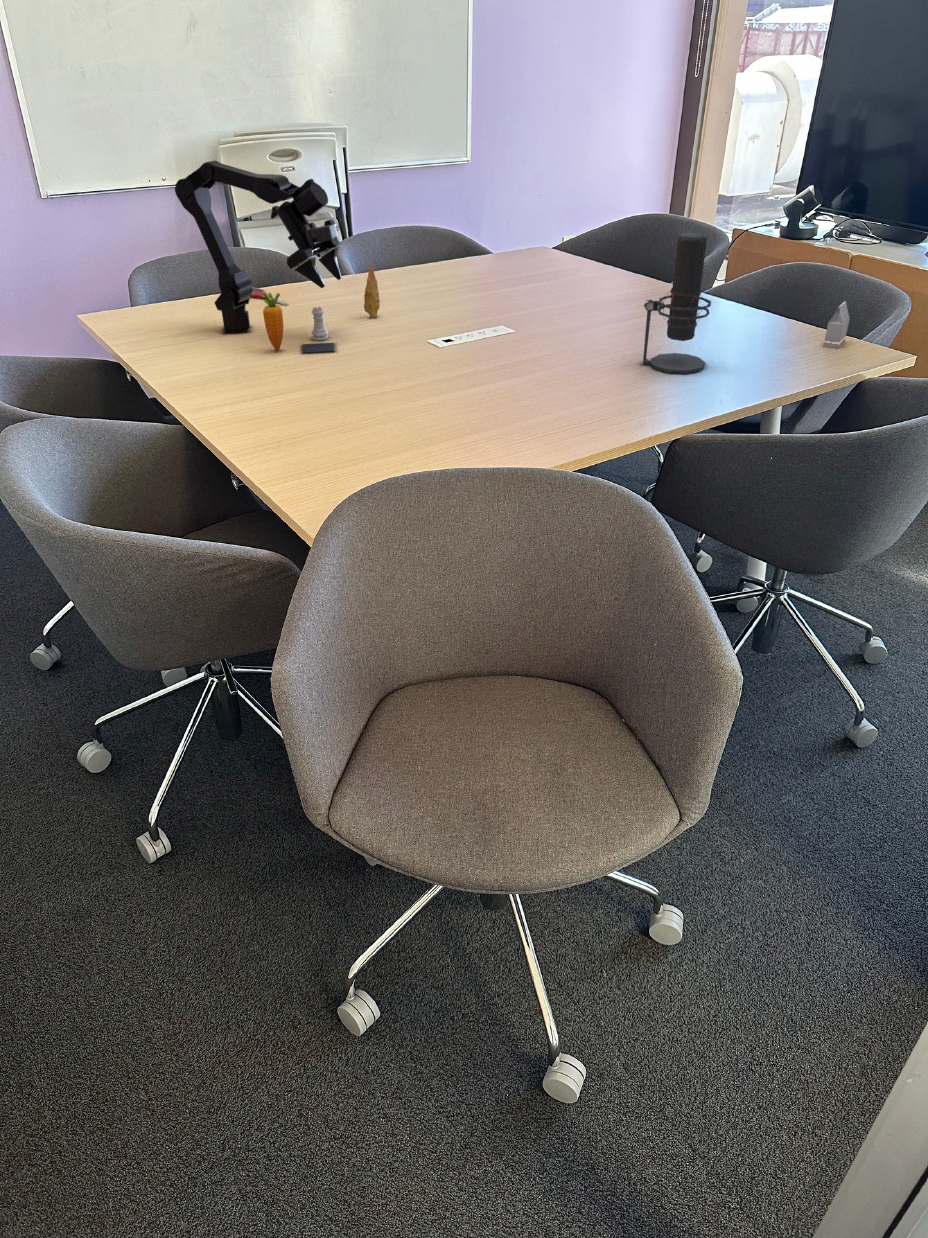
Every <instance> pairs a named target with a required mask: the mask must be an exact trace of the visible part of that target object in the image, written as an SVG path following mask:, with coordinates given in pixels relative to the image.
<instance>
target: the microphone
mask: <svg viewBox="0 0 928 1238" xmlns="http://www.w3.org/2000/svg"><path fill="white" fill-rule="evenodd" d="M676 242H677V243H676V250H675V251H676V254H675V263H674V269H673V270H674V271H673V279H672V286H671V289H670V291H668V294H667V295H664V296H662V297H660V298H659V297H658V300H652V299H646V301H645V302H644V304H643V307H644V309H645V311H646V320H645V321H646V322H645V323H646V324H645V334H644V335H645V336H644V346H643V358H642V359H643V360H642V364H644V365H650V366H651V367H652V368H653V369H654V370H656V371H661V372H664V373H669V374H677V375H678V374H679V375H687V374H693V373H698V372H700V371H702V370H704V368H705V365H706V363H707V362H706V361H704V360H703V359H702V358H701V357H700V356H697V355H692V354H688V353H680V352H679V353H677V352H671V353H669V352H668V353H659V354H657V355H654V356H653V357H651V358H649V359H648V358H647V354H648V345H649V333H650V328H651V327H650V325H651V317H652V312H658V315H659V316H662V317H664V320H665V322H666V325H667V329H666V330H667V331H666V336H667V338H668V339H670V340H672V341H679V342H685V341H691V340H692V339H694V337H695V335H696V333H695V332H696V328H697V326H698V322H699V321H700V320H701V319H704V318H707V317H708V316H709V315H710V309H709V308H711V307H712V300H710V299H708V298H705V297H703V296H702V295H701V294H702V293H703V292H702V289H701V288H702V281H703V273H704V266H705V260H706V251H707V245H708V244H707V242H708V237H707V235H706V234H704V233H701V232H700V233H699V232H681V233H680V234H678V237H677V241H676ZM667 299H670V303H667V304H665V300H667ZM701 300H702V301H703V302H705V303H707V304H706V305H702V306H700V305H699V303H700V302H701ZM664 309H669V314H668V313H664V311H665V310H664ZM699 311H700V312H699ZM703 311H706V313H705V314H702V315H700V313H701V312H703ZM665 317H666V318H667V319H666V318H665Z"/></svg>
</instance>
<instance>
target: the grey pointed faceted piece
mask: <svg viewBox="0 0 928 1238" xmlns="http://www.w3.org/2000/svg"><path fill="white" fill-rule="evenodd" d="M850 319H851V318H850V314H849V311H848V305H847V301H843V302H842V303H841V304H840V305H839V306H838V307H837V309H836V311H835V312H834V314H833V316H832V317H831V318H830V320H829V321H828V323H827V326H826V331H825V332H826V333H825V335H824V340H825V341H830V342H840V341H841V340H842V339H843V338H844V337H847V332H848V329H849V324H850ZM845 342H846V338H845V339H844V340H843V341H842V342H841V343H840V344H839V345H838V344H832V343H825V342H824V341H823V347H826V348H832V349H839V348H840V347H841V346H843V344H844V343H845Z"/></svg>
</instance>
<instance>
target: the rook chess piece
mask: <svg viewBox="0 0 928 1238" xmlns="http://www.w3.org/2000/svg"><path fill="white" fill-rule="evenodd" d="M324 313H325V311H324V309H323V307H321V306H318V307H317V306H315V307H312V311H311V314H312V315H313V317H312V319H313V329H312V332H311V335H312V336H311V338H312V340H314V341H316V342H323V341H326V340H328V338H329V335H328V334H329V331H328V330H327V328H326V327H325V323H324V318H325V317H324V316H323V314H324Z"/></svg>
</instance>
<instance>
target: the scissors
mask: <svg viewBox="0 0 928 1238" xmlns="http://www.w3.org/2000/svg"><path fill="white" fill-rule="evenodd" d="M252 288H253V292H252V295H251V297H250V298H257V299H261V300H267V299H266V298H265V296H264V295H263V292H265V291H266V290H265V289H263V288H259V287H253V286H252ZM269 297H270V296H269ZM273 298H274V299H275V297H273ZM270 299H271V298H270ZM276 304H280V305H281V306H282V305H283V306H287V303H285V302H284V301H282V300H280V299H278V300H277V302H276Z"/></svg>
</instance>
